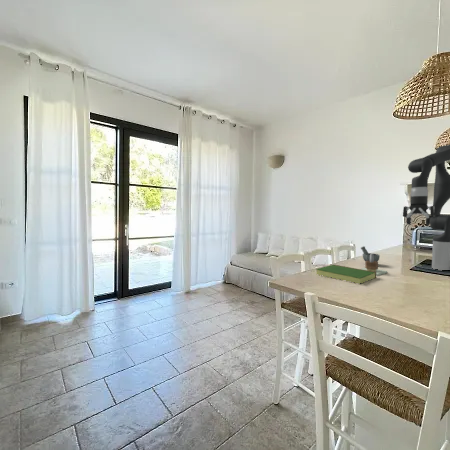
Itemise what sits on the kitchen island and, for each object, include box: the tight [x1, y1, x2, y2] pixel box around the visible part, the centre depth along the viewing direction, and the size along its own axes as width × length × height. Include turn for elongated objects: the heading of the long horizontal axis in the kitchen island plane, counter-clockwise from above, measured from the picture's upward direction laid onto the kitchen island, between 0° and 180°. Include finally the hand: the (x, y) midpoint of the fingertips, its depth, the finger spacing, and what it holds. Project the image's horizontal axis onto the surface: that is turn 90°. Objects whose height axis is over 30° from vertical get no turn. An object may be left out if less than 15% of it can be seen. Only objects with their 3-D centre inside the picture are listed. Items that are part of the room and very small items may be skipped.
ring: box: [364, 260, 379, 270], centre depth 147 cm, size 6×6×4 cm
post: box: [360, 253, 388, 277], centre depth 147 cm, size 12×12×11 cm
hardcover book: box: [315, 264, 377, 285], centre depth 139 cm, size 25×19×4 cm
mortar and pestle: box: [360, 245, 381, 263], centre depth 167 cm, size 11×9×12 cm
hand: (417, 224), depth 140 cm, fingers open, 8 cm apart
